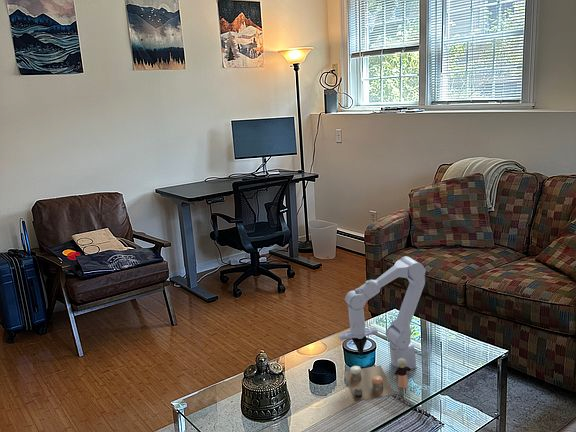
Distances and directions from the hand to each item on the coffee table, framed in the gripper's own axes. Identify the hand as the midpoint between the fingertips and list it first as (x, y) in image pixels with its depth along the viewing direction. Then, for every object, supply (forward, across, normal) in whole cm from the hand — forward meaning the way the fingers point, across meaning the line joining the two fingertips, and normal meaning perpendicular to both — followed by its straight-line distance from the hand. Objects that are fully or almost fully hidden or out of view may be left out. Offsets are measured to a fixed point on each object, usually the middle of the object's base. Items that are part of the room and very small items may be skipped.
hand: (360, 353), depth 210 cm
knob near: (+8, +3, -12) cm, 14 cm away
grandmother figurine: (+10, +12, -13) cm, 21 cm away
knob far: (+8, -3, -2) cm, 9 cm away
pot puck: (+8, -5, -14) cm, 17 cm away
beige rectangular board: (+10, 0, -7) cm, 12 cm away
